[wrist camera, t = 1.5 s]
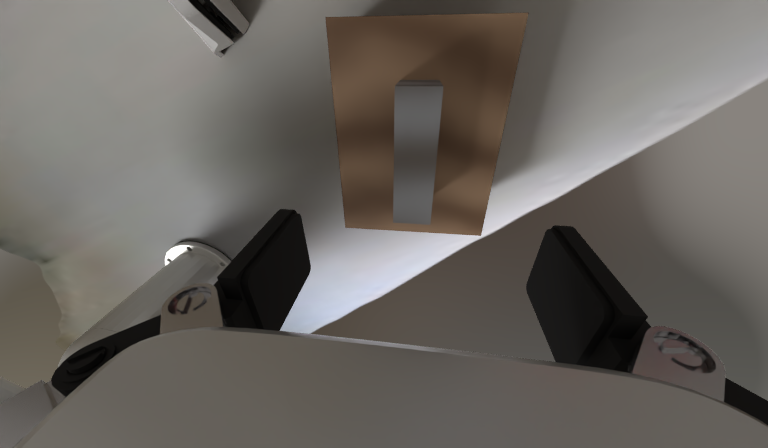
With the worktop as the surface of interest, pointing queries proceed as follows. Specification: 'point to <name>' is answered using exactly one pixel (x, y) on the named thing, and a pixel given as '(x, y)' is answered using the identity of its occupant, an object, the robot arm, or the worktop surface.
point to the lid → (421, 116)
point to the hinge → (212, 21)
